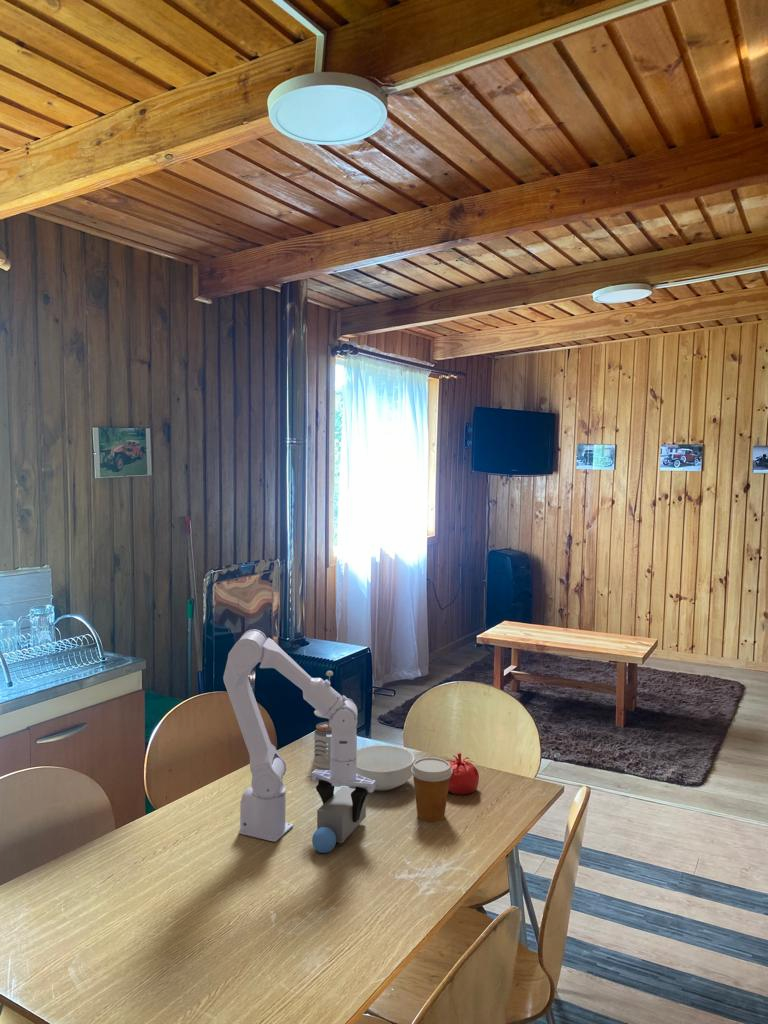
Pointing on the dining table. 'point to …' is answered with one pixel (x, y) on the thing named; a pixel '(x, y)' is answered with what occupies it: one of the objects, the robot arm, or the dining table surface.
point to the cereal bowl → (385, 765)
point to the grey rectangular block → (339, 814)
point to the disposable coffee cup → (431, 787)
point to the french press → (322, 740)
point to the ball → (324, 839)
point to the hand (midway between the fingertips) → (342, 817)
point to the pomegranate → (463, 776)
